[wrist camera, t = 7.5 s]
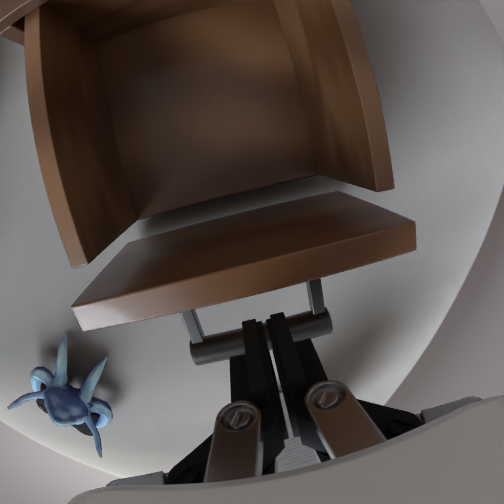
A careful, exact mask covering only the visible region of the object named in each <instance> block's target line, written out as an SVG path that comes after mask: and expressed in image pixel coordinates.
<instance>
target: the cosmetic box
mask: <svg viewBox="0 0 504 504" xmlns="http://www.w3.org/2000/svg"><path fill="white" fill-rule="evenodd" d="M279 394H280V399H281V403H282V408H283V412H284V417H285V421H286V426H287V430H288V435H289V439H286V440H284V444H285V448H284V450H283V451H282V452H281V453H280V454H279V455H278V456H277V459H278V473H279V472H284V471H289V470H293V469H297V468H302V467H306V466H310V465H314V464H317V463H319V462H318V460H317V458H316V456H315V454H314V451H313V449H312V448H310V447H307V446H305V445H302V443H301V439H300V436H299V437H294V436H293V432H292V428H291V424H290V420H289V416H288V412H287V408H286V404H285V400H284V396H283V392H280V393H279Z"/></svg>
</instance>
